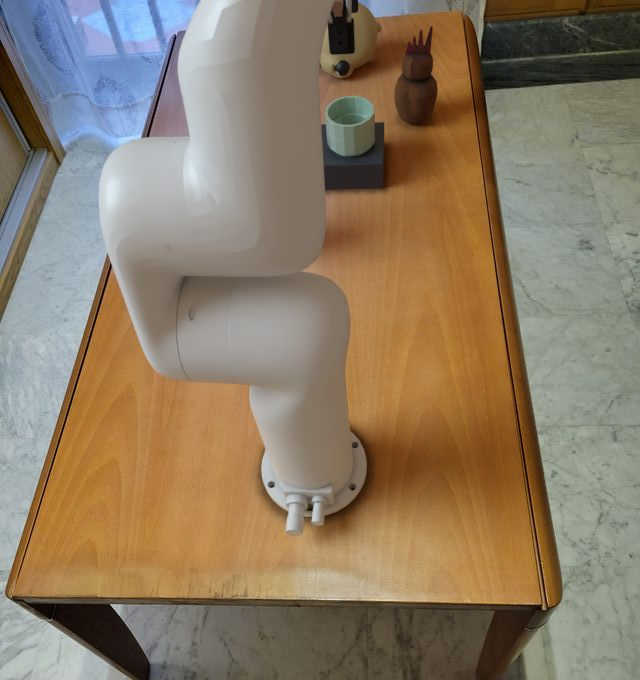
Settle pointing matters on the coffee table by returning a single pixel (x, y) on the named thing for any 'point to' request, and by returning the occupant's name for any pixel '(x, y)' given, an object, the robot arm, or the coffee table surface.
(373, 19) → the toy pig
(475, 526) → the coffee table surface
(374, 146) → the block
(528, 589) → the coffee table surface
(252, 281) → the robot arm
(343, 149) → the bowl
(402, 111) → the wooden figurine
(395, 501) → the coffee table surface
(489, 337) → the coffee table surface
